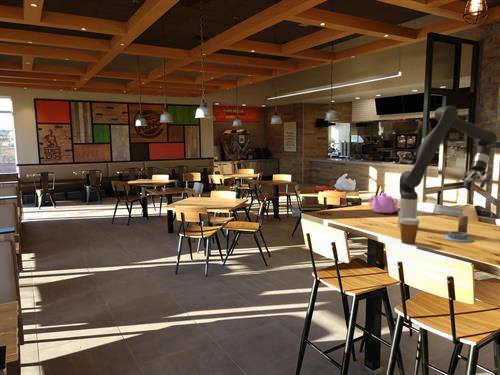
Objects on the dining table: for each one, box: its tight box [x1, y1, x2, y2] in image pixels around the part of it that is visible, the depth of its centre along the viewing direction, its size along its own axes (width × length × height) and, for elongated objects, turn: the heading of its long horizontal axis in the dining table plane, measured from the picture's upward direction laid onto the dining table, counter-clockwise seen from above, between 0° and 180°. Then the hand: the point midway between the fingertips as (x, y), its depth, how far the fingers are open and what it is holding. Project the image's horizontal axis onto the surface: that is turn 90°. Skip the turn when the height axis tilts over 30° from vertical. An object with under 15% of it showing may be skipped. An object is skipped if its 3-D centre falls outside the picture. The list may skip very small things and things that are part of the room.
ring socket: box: [441, 230, 474, 244], centre depth 201 cm, size 14×14×3 cm
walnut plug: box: [457, 215, 469, 234], centre depth 212 cm, size 4×4×10 cm
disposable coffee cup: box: [399, 217, 420, 245], centre depth 193 cm, size 10×10×12 cm
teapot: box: [369, 192, 399, 214], centre depth 278 cm, size 22×22×14 cm
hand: (473, 187), depth 220 cm, fingers open, 8 cm apart
